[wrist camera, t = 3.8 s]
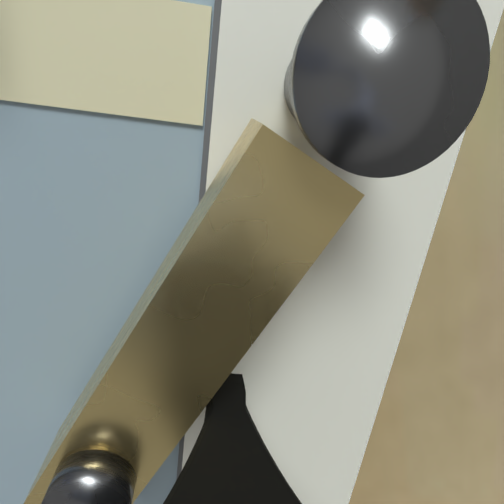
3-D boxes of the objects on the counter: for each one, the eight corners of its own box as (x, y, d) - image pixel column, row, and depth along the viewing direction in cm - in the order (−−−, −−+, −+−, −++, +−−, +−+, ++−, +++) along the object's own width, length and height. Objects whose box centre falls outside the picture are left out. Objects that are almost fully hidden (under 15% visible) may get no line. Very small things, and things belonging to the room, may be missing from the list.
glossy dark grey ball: (253, 138, 10) (279, 166, 6) (269, 12, 9) (315, -62, 5) (358, 152, 10) (454, 187, 6) (385, 32, 9) (519, -22, 5)
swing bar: (252, 117, 8) (268, 127, 6) (330, 173, 9) (383, 206, 6) (59, 428, 11) (5, 540, 8) (130, 455, 12) (102, 568, 9)
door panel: (-214, 503, 13) (-246, 535, 12) (-720, -651, 5) (-931, -820, 4) (331, 507, 15) (339, 533, 14) (561, -279, 7) (610, -333, 6)
